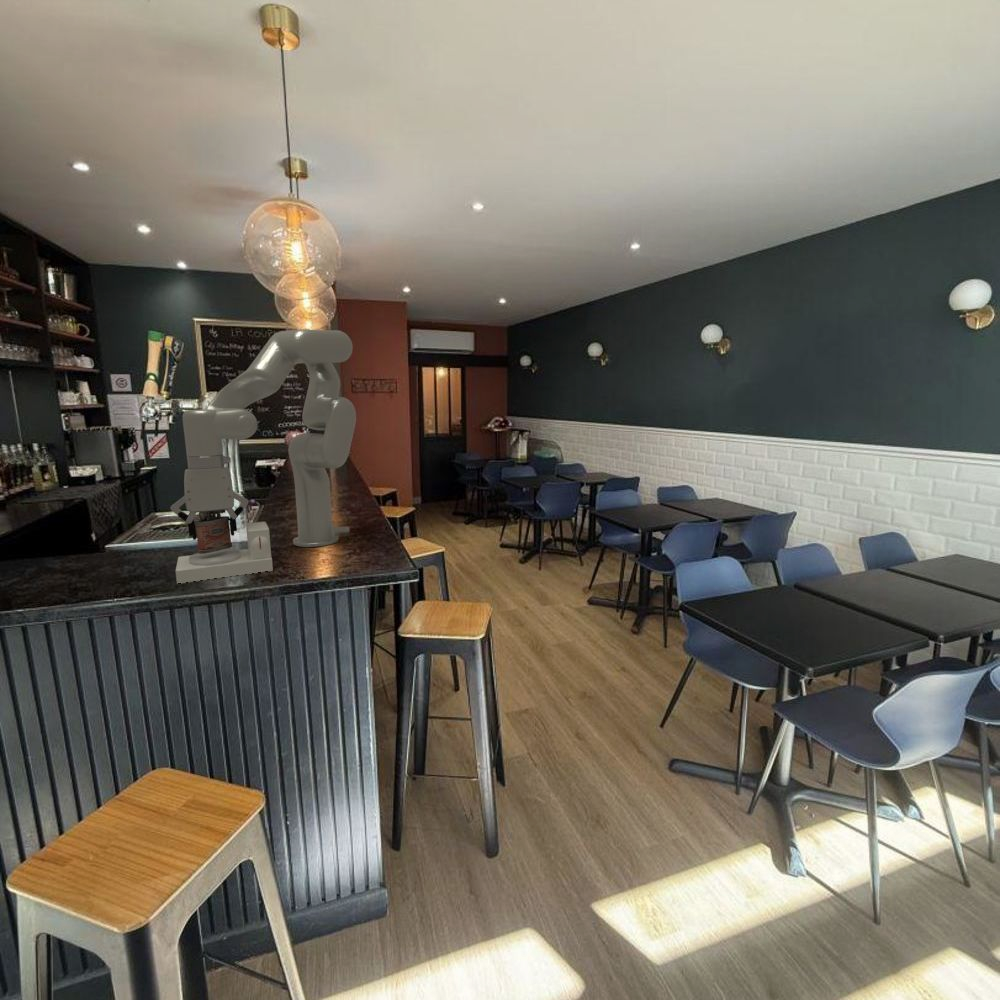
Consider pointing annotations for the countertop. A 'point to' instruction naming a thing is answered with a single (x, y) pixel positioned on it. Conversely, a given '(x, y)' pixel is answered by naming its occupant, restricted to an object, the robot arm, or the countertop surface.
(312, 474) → the robot arm
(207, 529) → the lighter
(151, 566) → the countertop surface
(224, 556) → the kitchen scale
